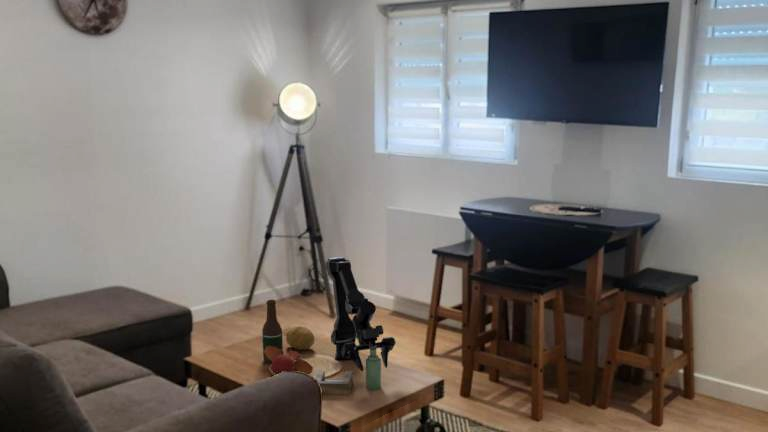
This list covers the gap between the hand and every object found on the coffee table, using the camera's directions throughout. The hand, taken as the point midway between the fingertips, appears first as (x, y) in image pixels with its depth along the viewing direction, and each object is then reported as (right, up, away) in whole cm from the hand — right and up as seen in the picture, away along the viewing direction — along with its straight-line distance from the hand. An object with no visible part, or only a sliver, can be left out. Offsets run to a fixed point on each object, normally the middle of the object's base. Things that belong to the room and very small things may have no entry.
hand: (374, 369), depth 245 cm
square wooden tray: (-14, -7, +2) cm, 16 cm away
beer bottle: (-40, -4, +30) cm, 50 cm away
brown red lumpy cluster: (-32, -6, +16) cm, 36 cm away
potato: (-31, -1, +44) cm, 53 cm away
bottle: (0, -7, +2) cm, 7 cm away
